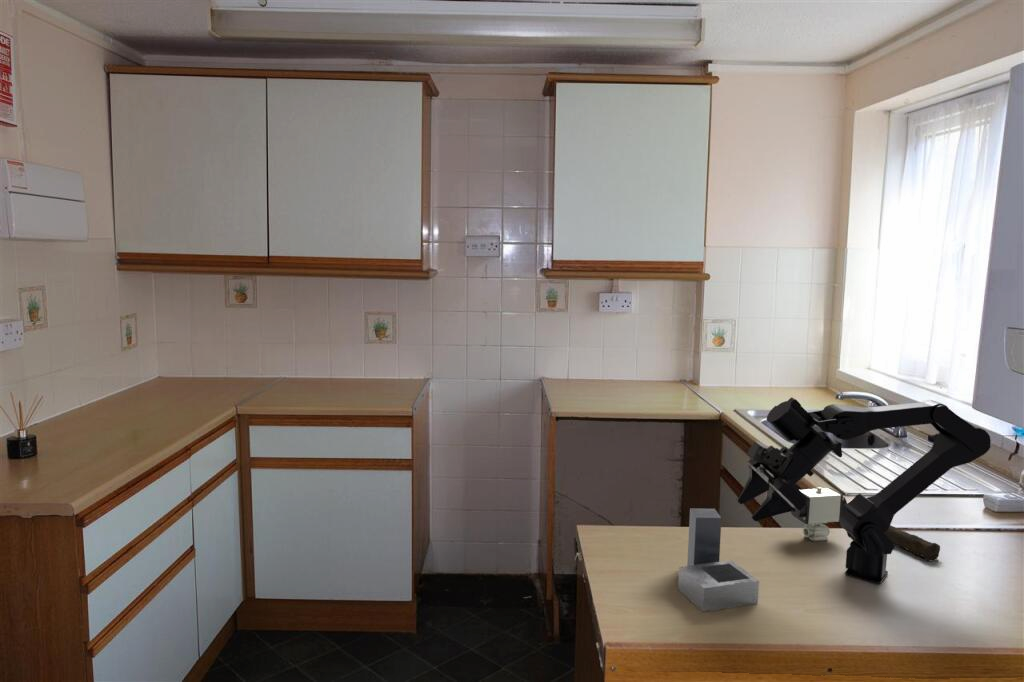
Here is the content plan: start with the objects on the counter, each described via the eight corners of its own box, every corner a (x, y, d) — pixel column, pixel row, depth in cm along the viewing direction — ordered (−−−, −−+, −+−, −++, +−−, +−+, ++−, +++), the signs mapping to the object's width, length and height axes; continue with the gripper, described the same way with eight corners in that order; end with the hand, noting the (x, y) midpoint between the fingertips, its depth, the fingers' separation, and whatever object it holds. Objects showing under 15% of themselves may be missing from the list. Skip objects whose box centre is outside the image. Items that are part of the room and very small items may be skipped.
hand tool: (940, 561, 151) (942, 540, 151) (926, 563, 150) (928, 542, 149) (869, 528, 169) (870, 509, 168) (856, 530, 168) (857, 511, 167)
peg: (711, 566, 147) (714, 508, 145) (718, 578, 142) (721, 517, 140) (687, 566, 147) (690, 508, 145) (693, 577, 142) (695, 517, 140)
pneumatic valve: (845, 541, 161) (849, 489, 159) (798, 544, 158) (802, 492, 157) (830, 531, 166) (833, 481, 164) (784, 534, 164) (787, 484, 162)
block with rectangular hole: (730, 581, 140) (731, 560, 140) (757, 603, 132) (758, 580, 131) (678, 589, 137) (679, 566, 136) (702, 611, 129) (703, 588, 128)
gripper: (759, 417, 150) (705, 469, 151) (792, 441, 131) (731, 500, 133) (795, 453, 150) (742, 504, 152) (834, 482, 132) (772, 540, 134)
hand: (745, 510), depth 143 cm, fingers open, 9 cm apart
